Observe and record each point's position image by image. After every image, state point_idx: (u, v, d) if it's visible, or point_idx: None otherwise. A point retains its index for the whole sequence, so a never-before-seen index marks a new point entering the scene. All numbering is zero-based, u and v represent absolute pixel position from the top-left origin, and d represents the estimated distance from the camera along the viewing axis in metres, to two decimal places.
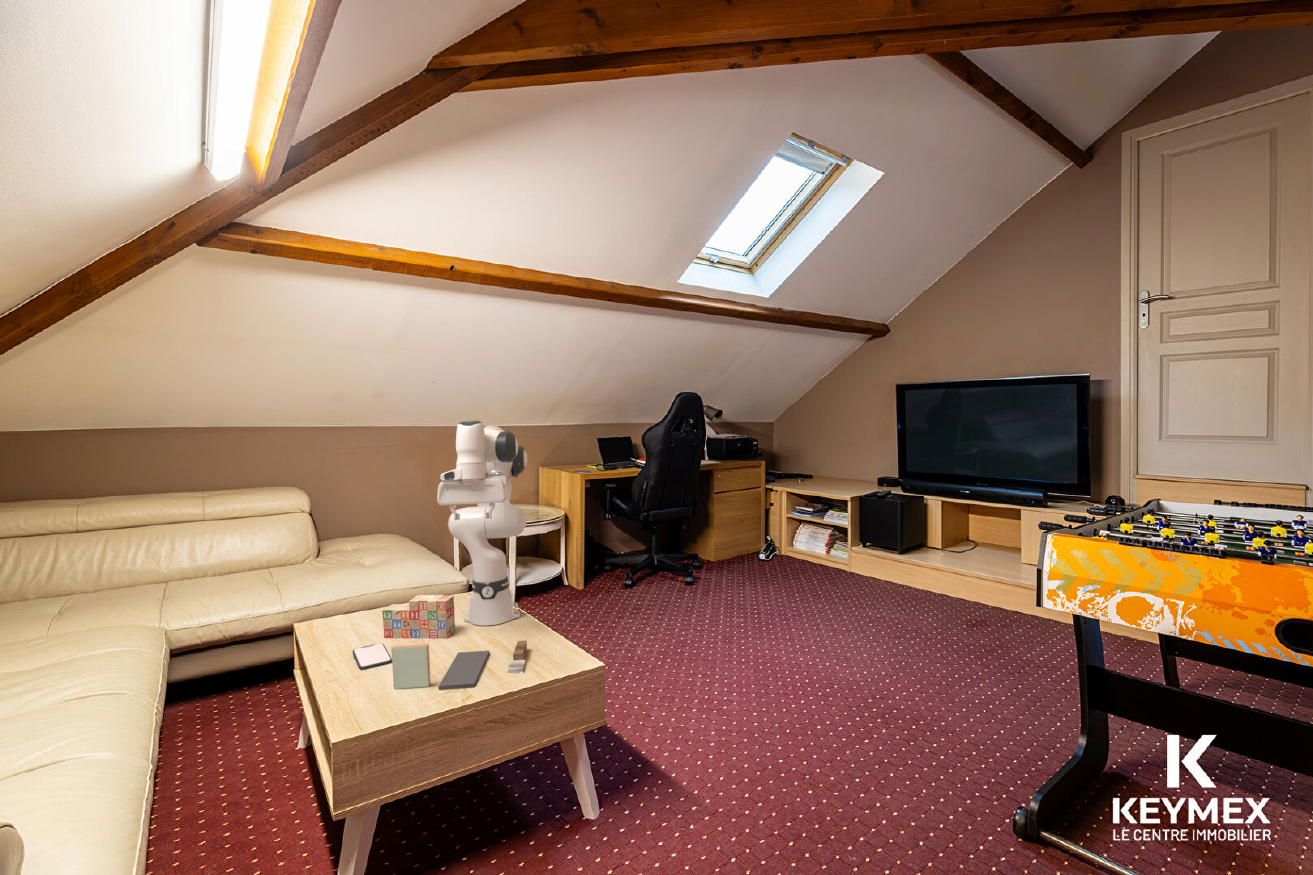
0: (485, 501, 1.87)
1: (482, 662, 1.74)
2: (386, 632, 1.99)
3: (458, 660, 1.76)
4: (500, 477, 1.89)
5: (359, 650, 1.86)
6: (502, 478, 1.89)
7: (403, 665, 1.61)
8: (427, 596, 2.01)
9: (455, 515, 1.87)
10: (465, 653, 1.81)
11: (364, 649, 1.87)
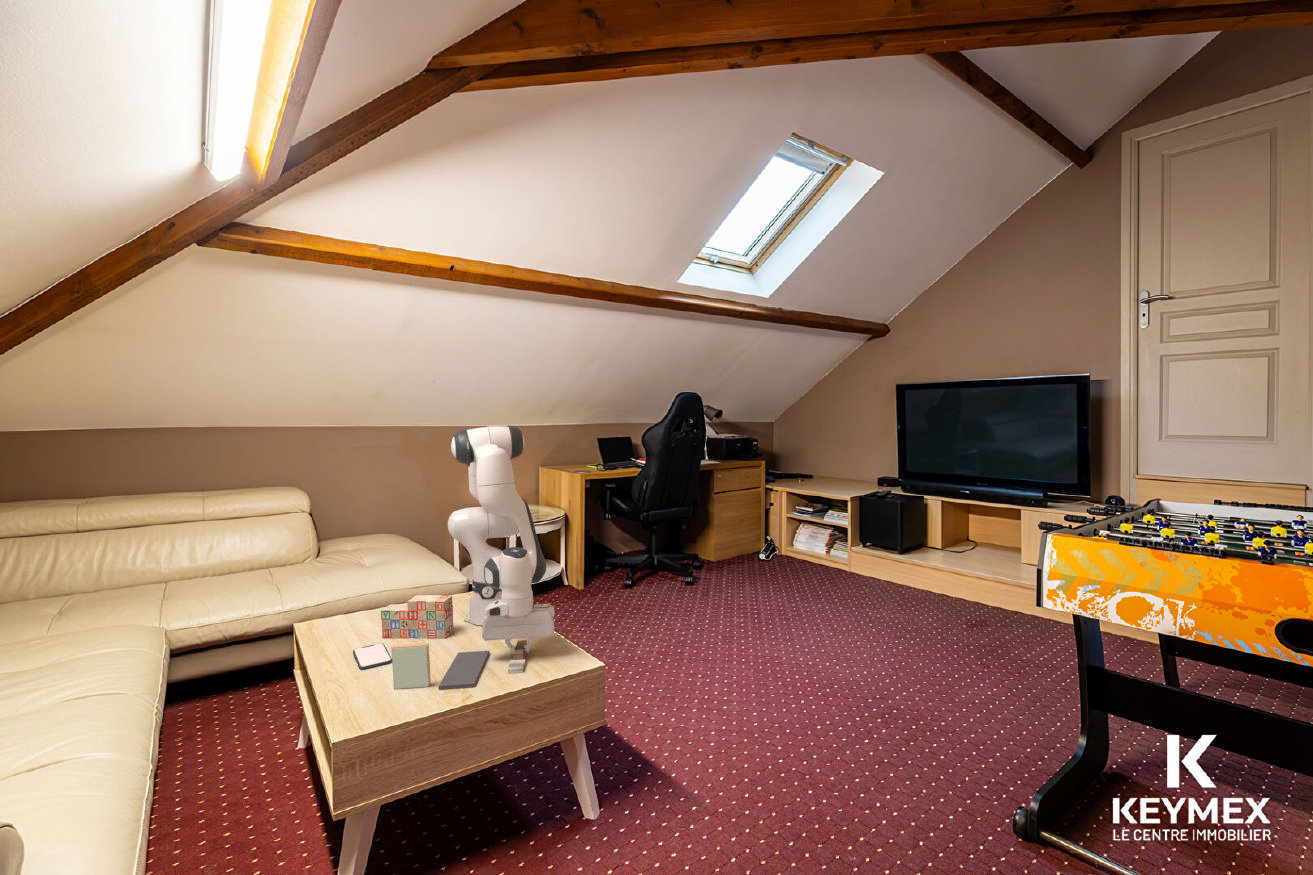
0: (533, 635, 1.77)
1: (482, 662, 1.74)
2: (384, 632, 1.99)
3: (458, 660, 1.76)
4: (548, 609, 1.78)
5: (360, 650, 1.86)
6: (550, 610, 1.79)
7: (403, 665, 1.61)
8: (425, 596, 2.01)
9: (511, 649, 1.78)
10: (465, 653, 1.81)
11: (364, 649, 1.86)
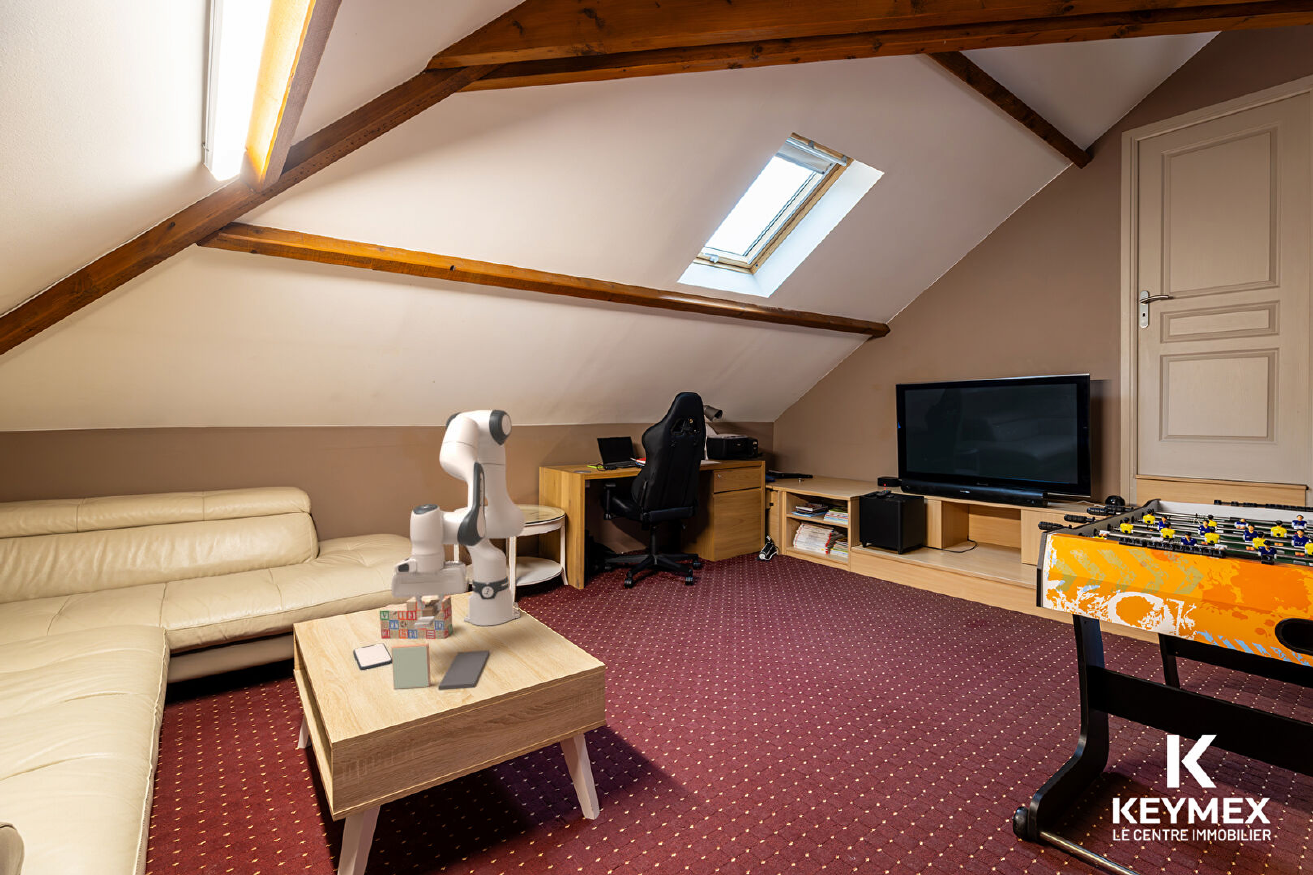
0: (443, 593, 1.76)
1: (482, 662, 1.74)
2: (383, 632, 1.98)
3: (458, 660, 1.76)
4: (459, 566, 1.77)
5: (360, 650, 1.86)
6: (461, 567, 1.77)
7: (403, 665, 1.61)
8: (424, 596, 2.01)
9: (421, 606, 1.76)
10: (465, 653, 1.81)
11: (365, 649, 1.86)
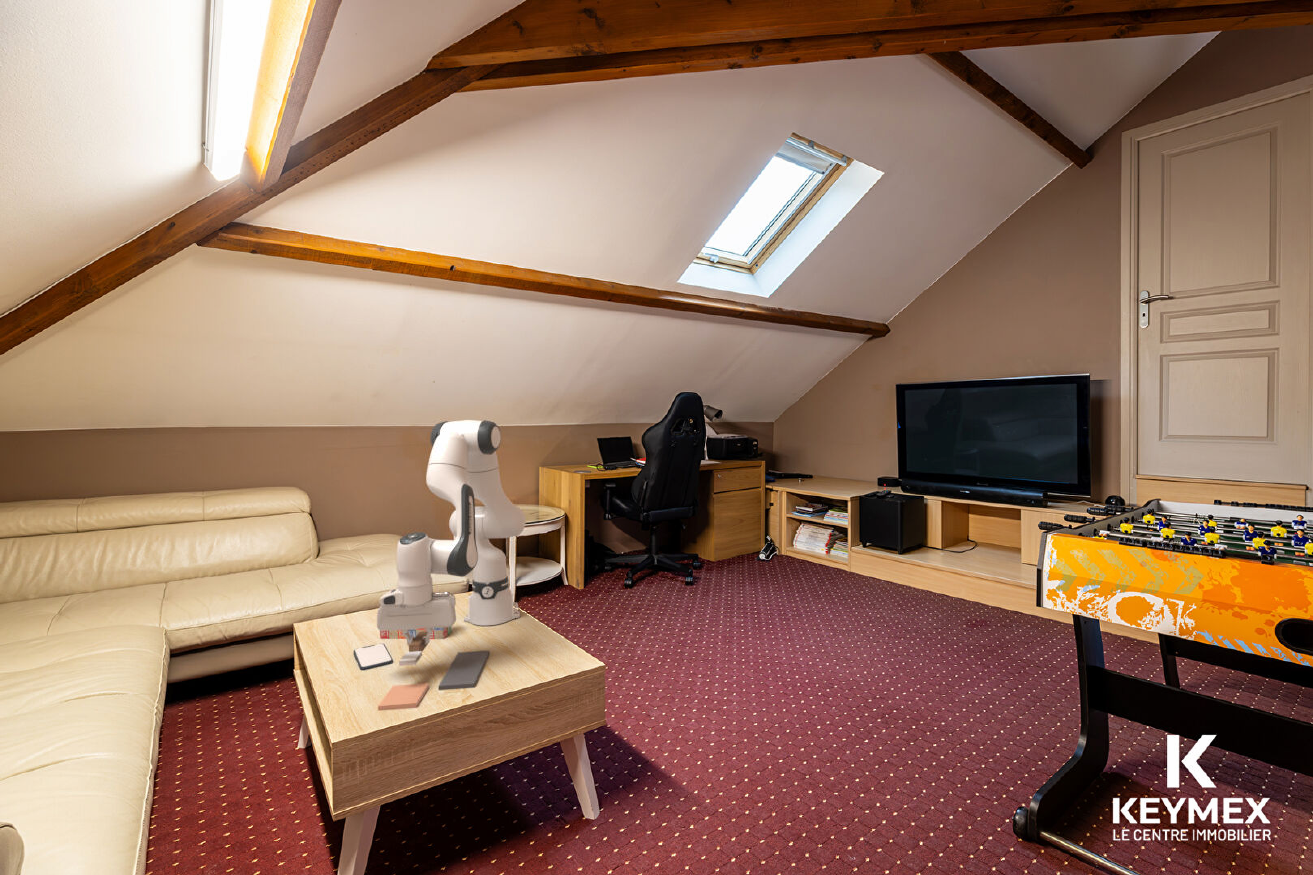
0: (431, 626, 1.68)
1: (482, 662, 1.74)
2: (382, 633, 1.98)
3: (458, 660, 1.76)
4: (448, 598, 1.69)
5: (360, 650, 1.86)
6: (450, 599, 1.69)
7: None
8: None
9: (408, 640, 1.68)
10: (465, 653, 1.81)
11: (365, 649, 1.86)
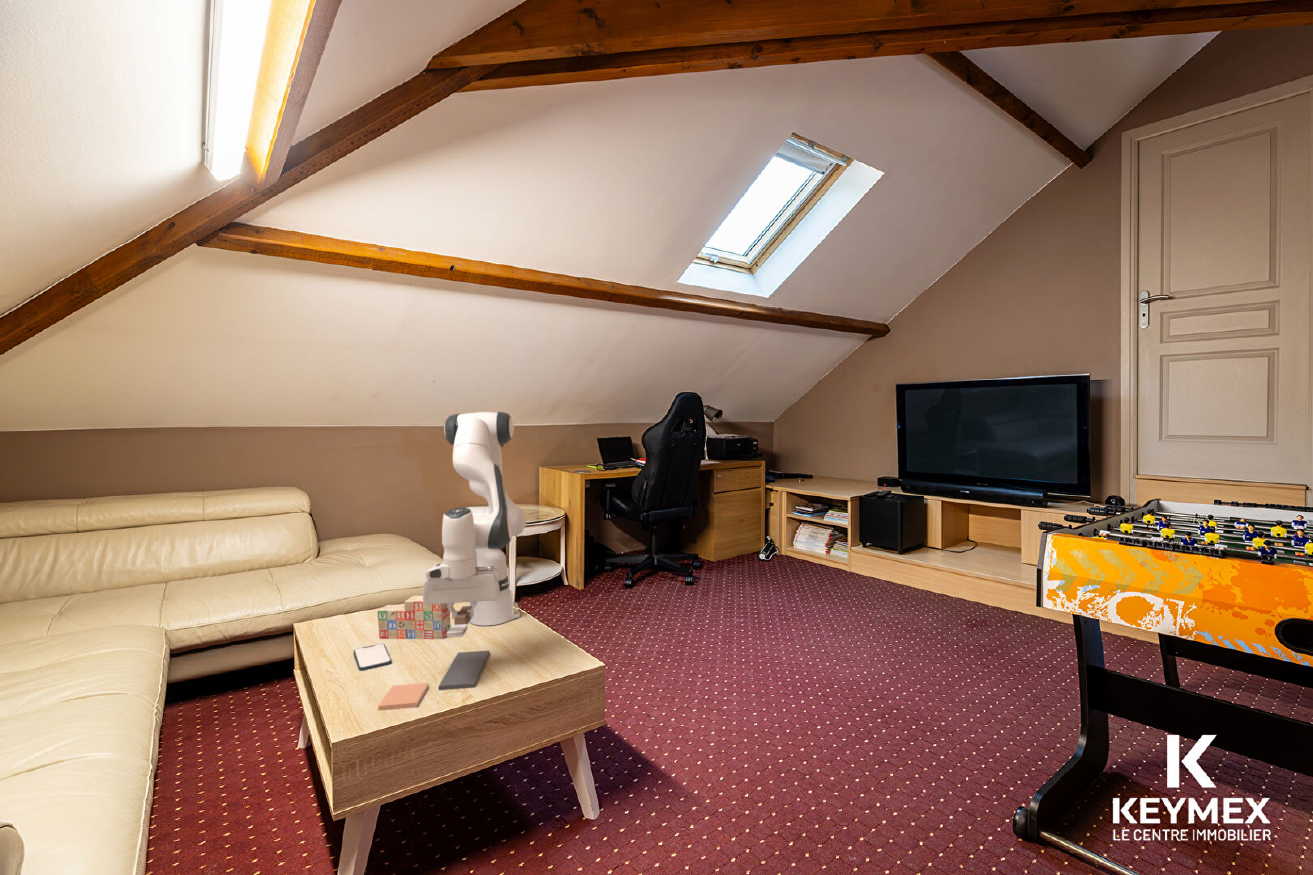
0: (476, 599, 1.69)
1: (482, 662, 1.74)
2: (381, 633, 1.98)
3: (458, 660, 1.76)
4: (492, 572, 1.71)
5: (360, 650, 1.86)
6: (494, 573, 1.71)
7: None
8: (422, 597, 2.01)
9: (453, 614, 1.70)
10: (465, 653, 1.81)
11: (365, 649, 1.86)
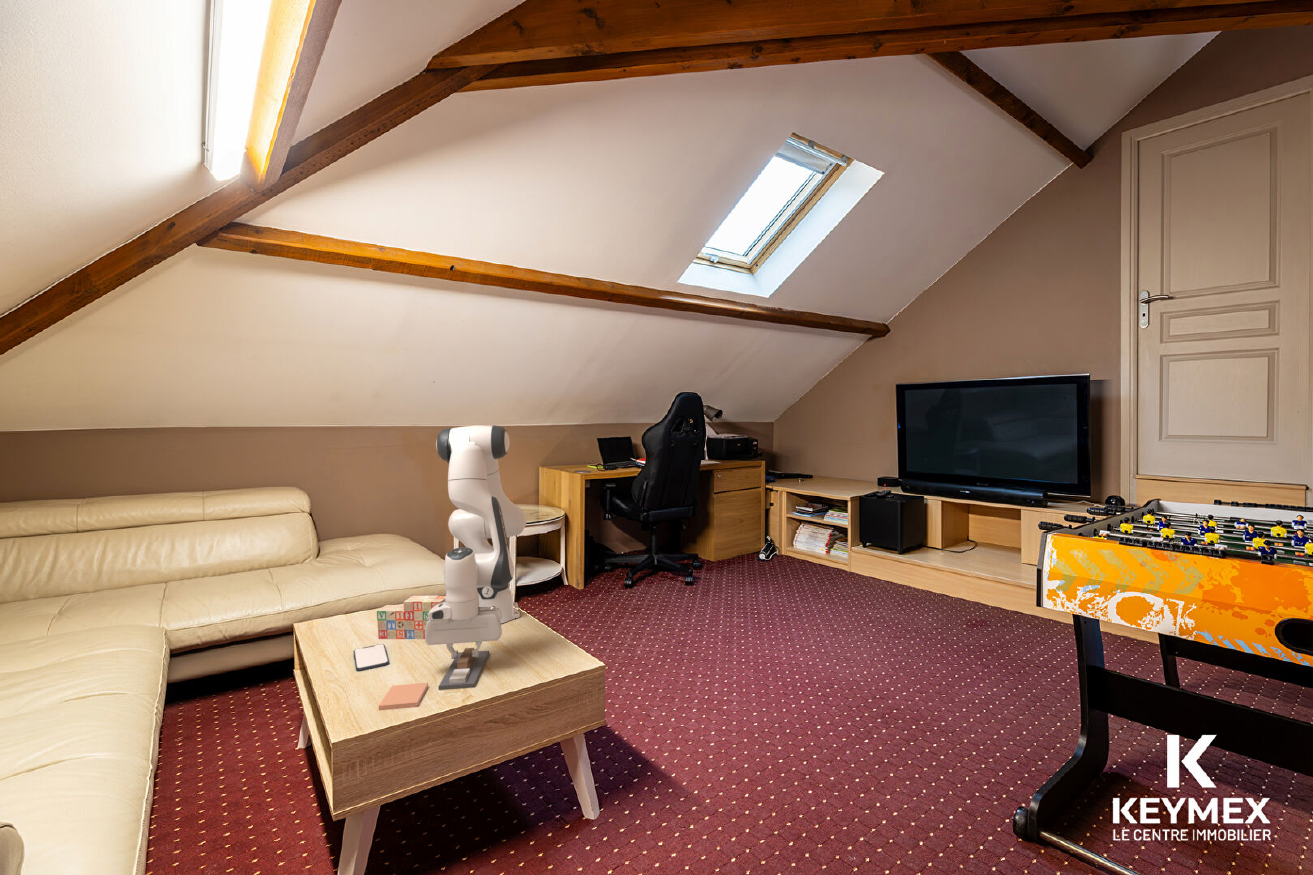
0: (478, 640, 1.70)
1: (482, 662, 1.74)
2: (380, 633, 1.98)
3: None
4: (494, 612, 1.71)
5: (360, 650, 1.86)
6: (496, 613, 1.71)
7: None
8: (422, 597, 2.01)
9: (453, 654, 1.70)
10: None
11: (365, 650, 1.86)
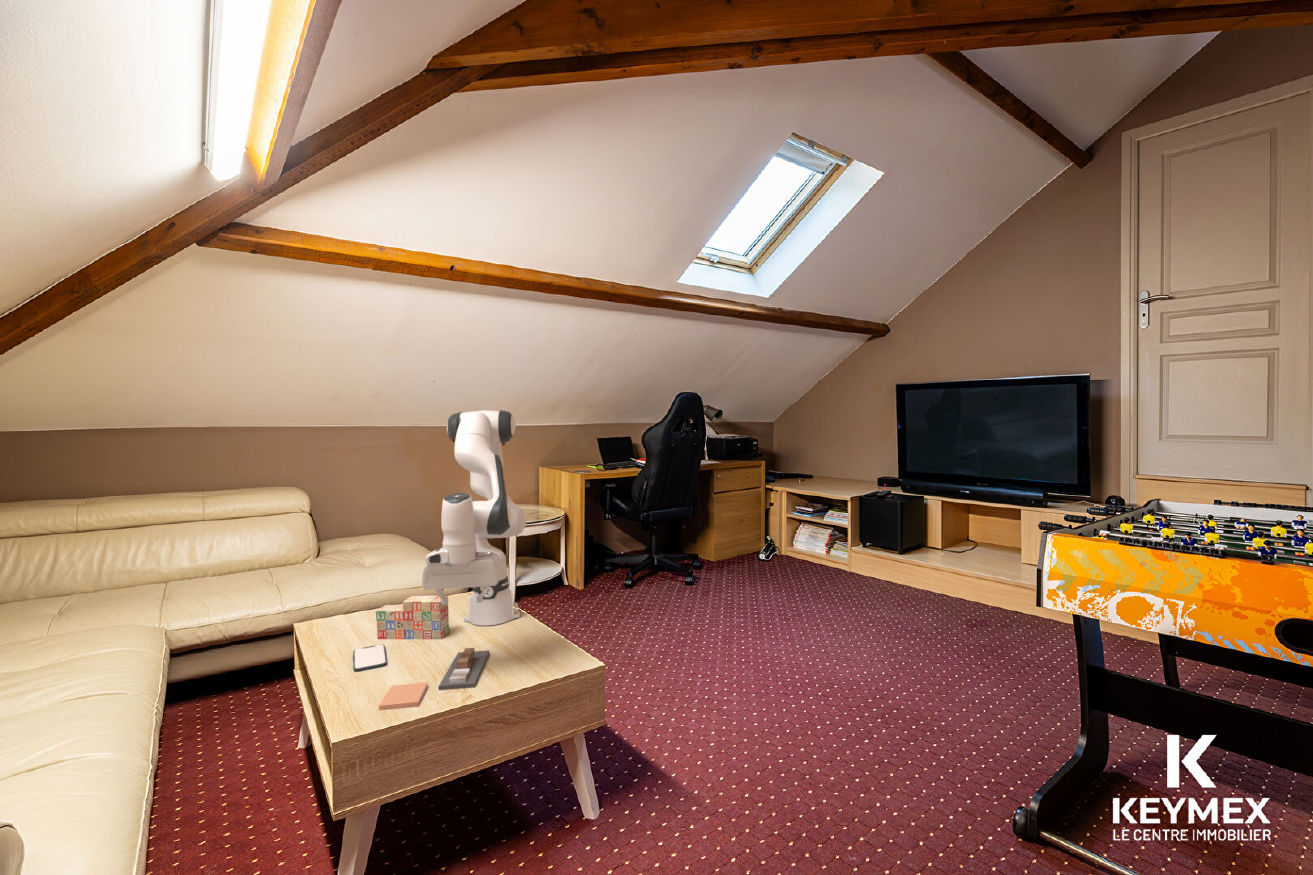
0: (475, 585, 1.69)
1: (482, 662, 1.74)
2: (380, 633, 1.98)
3: None
4: (492, 557, 1.70)
5: (360, 650, 1.86)
6: (494, 558, 1.71)
7: None
8: (421, 597, 2.01)
9: (443, 600, 1.69)
10: None
11: (364, 650, 1.86)
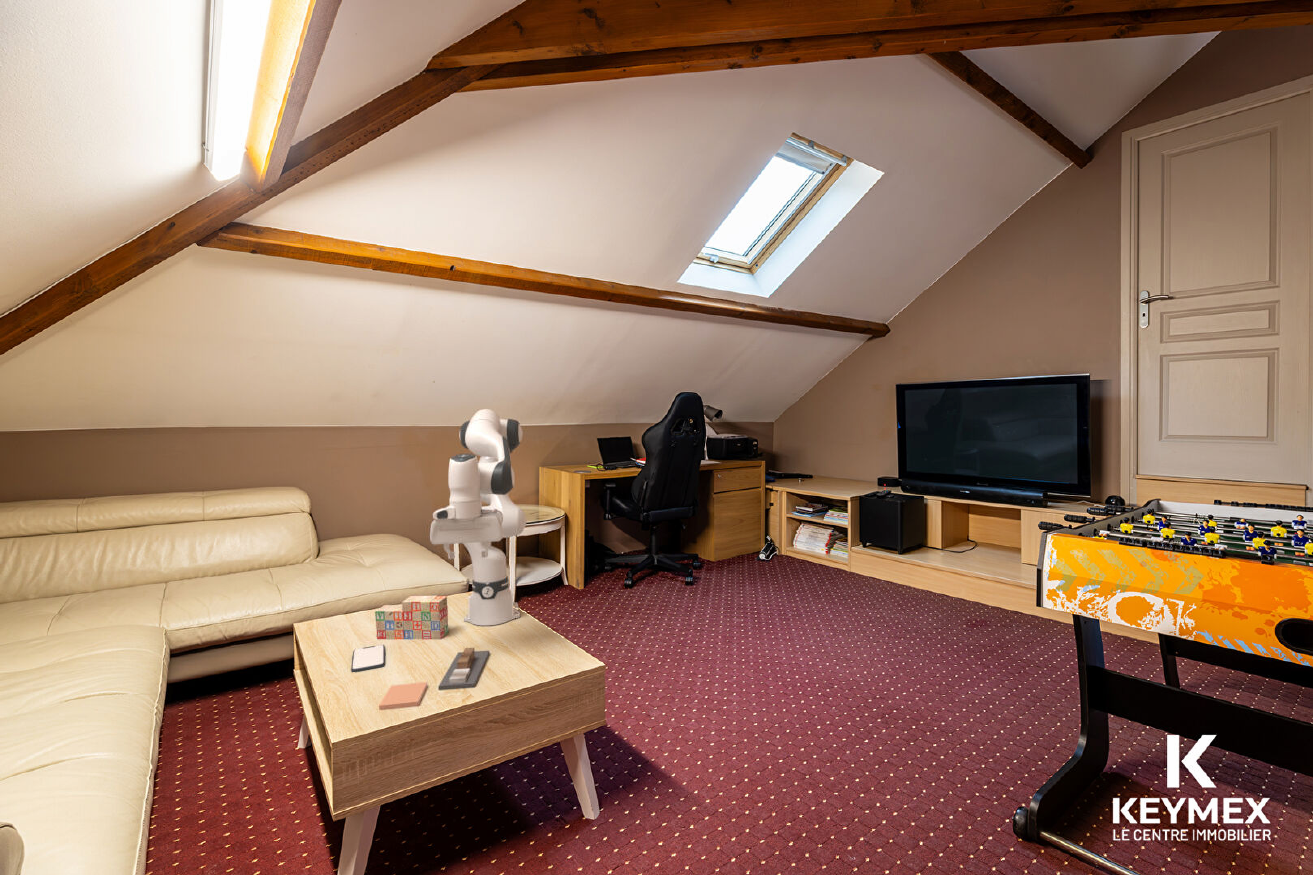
0: (481, 540, 1.78)
1: (482, 662, 1.74)
2: (379, 633, 1.98)
3: None
4: (496, 514, 1.80)
5: (359, 650, 1.86)
6: (498, 515, 1.80)
7: None
8: (420, 597, 2.01)
9: (449, 554, 1.79)
10: None
11: (364, 650, 1.86)
